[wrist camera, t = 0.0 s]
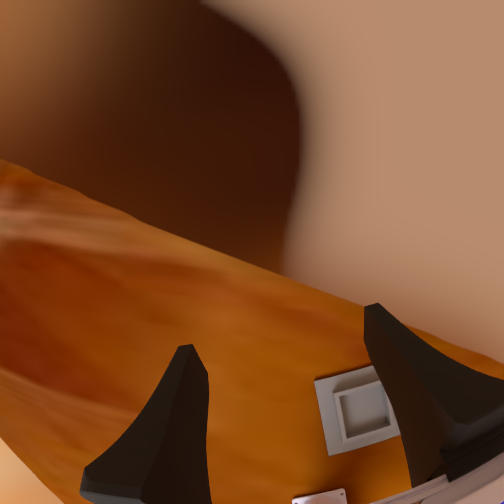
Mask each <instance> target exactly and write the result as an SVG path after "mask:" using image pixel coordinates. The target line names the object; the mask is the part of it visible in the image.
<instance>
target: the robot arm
mask: <svg viewBox="0 0 504 504" xmlns="http://www.w3.org/2000/svg"><path fill="white" fill-rule="evenodd" d="M364 342H365V345H366V348H367V351H368V354H369V357H370V360H371V362H372V364H373V366H374V369H375V371H376V373H377V375H378V377H379V379H380V381H381V383H382V385H383V388H384V390H385V392H386V394H387V396H388V398H389V400H390V403H391V405H392V408H393V411H394V414H395V417H396V420H397V424H398V427H399V431H400V434H401V438H402V442H403V446H404V450H405V454H406V458H407V463H408V468H409V473H410V479H411V485H412V489H410V490H407V491H404V492H402V493H399V494H396V495H393V496H391V497H388V498H385V499H382V500H379V501H375V502H372V503H369V504H417V503H419V504H500V503H502V502H503V501H504V380H502V379H498V378H495V377H491V376H488V375H486V374H483V373H481V372H478V371H475V370H473V369H471V368H469V367H467V366H465V365H463V364H461V363H458V362H456V361H455V360H453V359H451V358H449V357H447V356H446V355H444V354H442V353H441V352H439V351H438V350H436V349H435V348H433V347H432V346H430V345H429V344H427V343H426V342H425V341H423V340H422V339H421V338H419V337H418V336H417V335H415V334H414V333H413V332H412V331H410V330H409V329H408V328H407V327H405V326H404V325H403V324H402V323H401V322H400V321H398V320H397V319H396V318H395V317H394V316H393V315H392V314H390V313H389V312H388V311H387V310H386V309H385V308H384V307H383V306H382V305H380V304H379V303H376V304H372V305H368V306H365V307H364ZM208 405H209V382H208V373H207V371H206V369H205V367H204V365H203V363H202V361H201V360H200V358H199V356H198V354H197V352H196V350H195V348H194V346H193V344H189V345H183V346H179V347H178V348H177V350H176V352H175V354H174V356H173V358H172V360H171V362H170V364H169V366H168V368H167V369H166V371H165V373H164V375H163V377H162V379H161V380H160V382H159V384H158V386H157V388H156V389H155V391H154V393H153V394H152V396H151V397H150V399H149V401H148V402H147V404H146V405H145V407H144V408H143V410H142V411H141V412H140V414H139V415H138V416H137V418H136V419H135V420H134V422H133V423H132V424H131V425H130V427H129V428H128V429H127V430H126V431H125V432H124V433H123V434H122V436H121V437H120V438H119V439H118V440H117V441H116V442H115V443H114V444H113V445H112V446H111V447H110V448H109V449H107V450H106V451H105V452H104V453H103V454H102V455H101V456H99V457H98V458H97V459H95V460H94V461H93V462H92V463H90V464H89V465H88V466H86V467H85V468H84V472H83V476H82V481H81V486H80V495H81V496H82V497H83V498H85V499H87V500H89V501H90V502H92V503H94V504H212V502H211V495H210V487H209V479H208V468H207V454H206V434H207V419H208ZM341 493H344V494H342V495H341ZM294 503H297V504H347V500H346V493H345V489H343V488H341V489H337V490H333V491H328V492H324V493H319V494H315V495H309V496H304V497H299V498H294V499H293V500H292V504H294Z"/></svg>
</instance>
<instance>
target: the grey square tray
mask: <svg viewBox="0 0 504 504" xmlns="http://www.w3.org/2000/svg"><path fill="white" fill-rule="evenodd" d="M314 384H315V389H316V394H317V398H318V403H319V408H320V414H321V419H322V424H323V429H324V434H325V440H326V445H327V450H328V455H329V456H331V455H335V454H339V453H343V452H347V451H351V450H354V449H358V448H361V447H364V446H368V445H371V444H374V443H377V442H380V441H383V440H386V439H389V438H392V437H395V436H398V435H400V431H399V427H398V424H397V420H396V417H395V414H394V411H393V408H392V405H391V403H390V400H389V398H388V396H387V394H386V392H385V390H384V388H383V385H382V383H381V381H380V379H379V377H378V375H377V373H376V371H375V369H374V366H373V365H371V366H368V367H365V368H361V369H358V370H354V371H351V372H347V373H344V374H340V375H336V376H332V377H328V378H324V379H320V380H316V381H314Z"/></svg>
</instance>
